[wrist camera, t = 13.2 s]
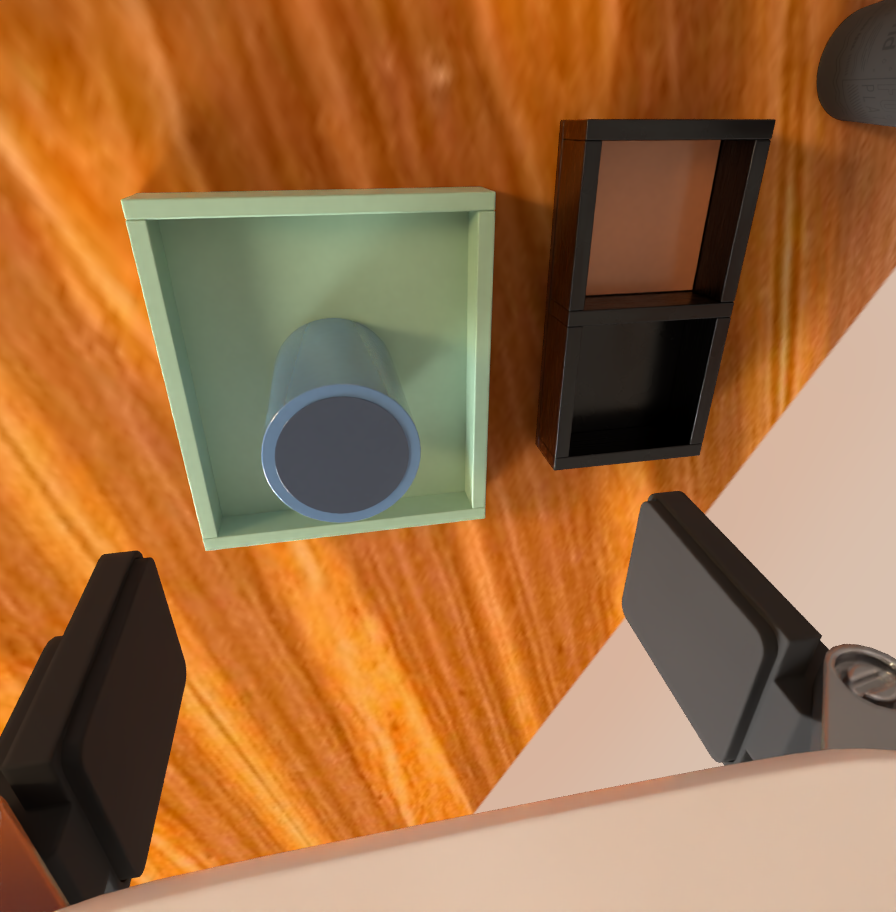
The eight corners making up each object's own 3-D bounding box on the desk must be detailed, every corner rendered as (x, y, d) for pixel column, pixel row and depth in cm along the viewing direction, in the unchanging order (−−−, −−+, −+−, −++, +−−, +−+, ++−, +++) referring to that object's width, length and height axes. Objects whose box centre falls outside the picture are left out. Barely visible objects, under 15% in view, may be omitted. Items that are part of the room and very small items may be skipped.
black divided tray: (560, 120, 28) (587, 119, 25) (732, 120, 30) (776, 119, 27) (535, 444, 37) (553, 470, 34) (670, 431, 38) (699, 455, 35)
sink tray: (135, 193, 26) (119, 199, 24) (482, 186, 29) (496, 191, 27) (212, 523, 35) (205, 551, 33) (474, 495, 37) (485, 518, 35)
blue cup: (265, 321, 29) (248, 391, 22) (391, 314, 30) (419, 378, 23) (282, 434, 32) (273, 531, 25) (396, 424, 33) (422, 514, 26)
